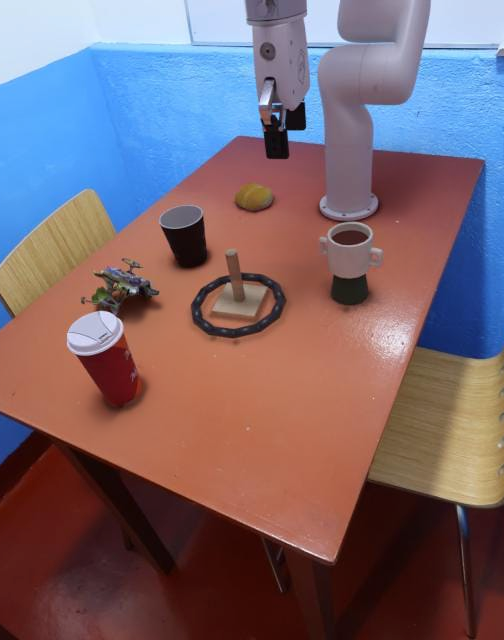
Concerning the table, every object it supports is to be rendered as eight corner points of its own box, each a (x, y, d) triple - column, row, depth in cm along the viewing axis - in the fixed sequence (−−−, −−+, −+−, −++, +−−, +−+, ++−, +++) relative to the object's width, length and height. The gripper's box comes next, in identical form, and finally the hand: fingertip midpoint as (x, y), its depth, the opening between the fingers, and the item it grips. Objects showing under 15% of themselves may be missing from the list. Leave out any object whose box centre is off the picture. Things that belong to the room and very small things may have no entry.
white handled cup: (387, 293, 81) (392, 228, 72) (371, 318, 77) (375, 253, 68) (329, 278, 86) (327, 216, 77) (312, 301, 82) (308, 238, 73)
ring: (213, 274, 92) (211, 267, 90) (295, 283, 86) (295, 275, 85) (177, 333, 81) (175, 326, 79) (269, 347, 75) (268, 339, 74)
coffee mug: (206, 272, 93) (195, 228, 86) (165, 271, 95) (152, 228, 88) (221, 239, 101) (212, 196, 94) (183, 238, 103) (172, 197, 96)
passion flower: (151, 317, 93) (172, 279, 85) (113, 347, 85) (133, 309, 77) (108, 280, 93) (125, 239, 85) (67, 306, 85) (81, 264, 77)
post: (228, 287, 88) (217, 236, 81) (268, 291, 86) (261, 239, 78) (212, 315, 83) (199, 264, 75) (255, 321, 80) (245, 268, 73)
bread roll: (256, 215, 106) (253, 199, 103) (230, 204, 111) (227, 189, 109) (281, 200, 110) (280, 184, 107) (255, 190, 115) (253, 174, 112)
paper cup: (159, 388, 72) (131, 322, 63) (119, 422, 68) (82, 357, 59) (129, 366, 76) (99, 301, 67) (90, 396, 73) (52, 332, 63)
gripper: (286, 20, 50) (297, 171, 61) (321, -13, 62) (325, 120, 73) (221, 25, 52) (243, 170, 64) (267, -7, 64) (279, 120, 75)
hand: (287, 143), depth 68 cm, fingers open, 9 cm apart
